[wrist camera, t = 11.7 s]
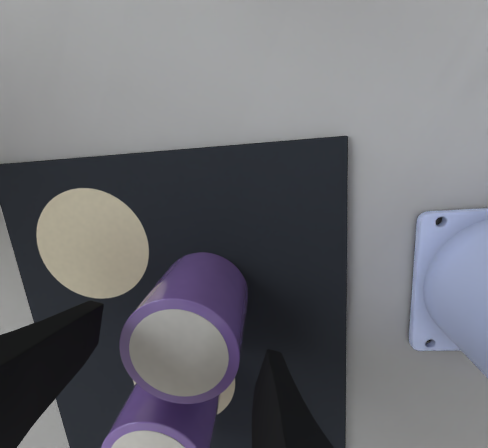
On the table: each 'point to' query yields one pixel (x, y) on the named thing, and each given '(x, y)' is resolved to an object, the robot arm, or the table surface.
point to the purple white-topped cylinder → (162, 423)
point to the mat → (187, 242)
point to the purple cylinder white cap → (188, 330)
